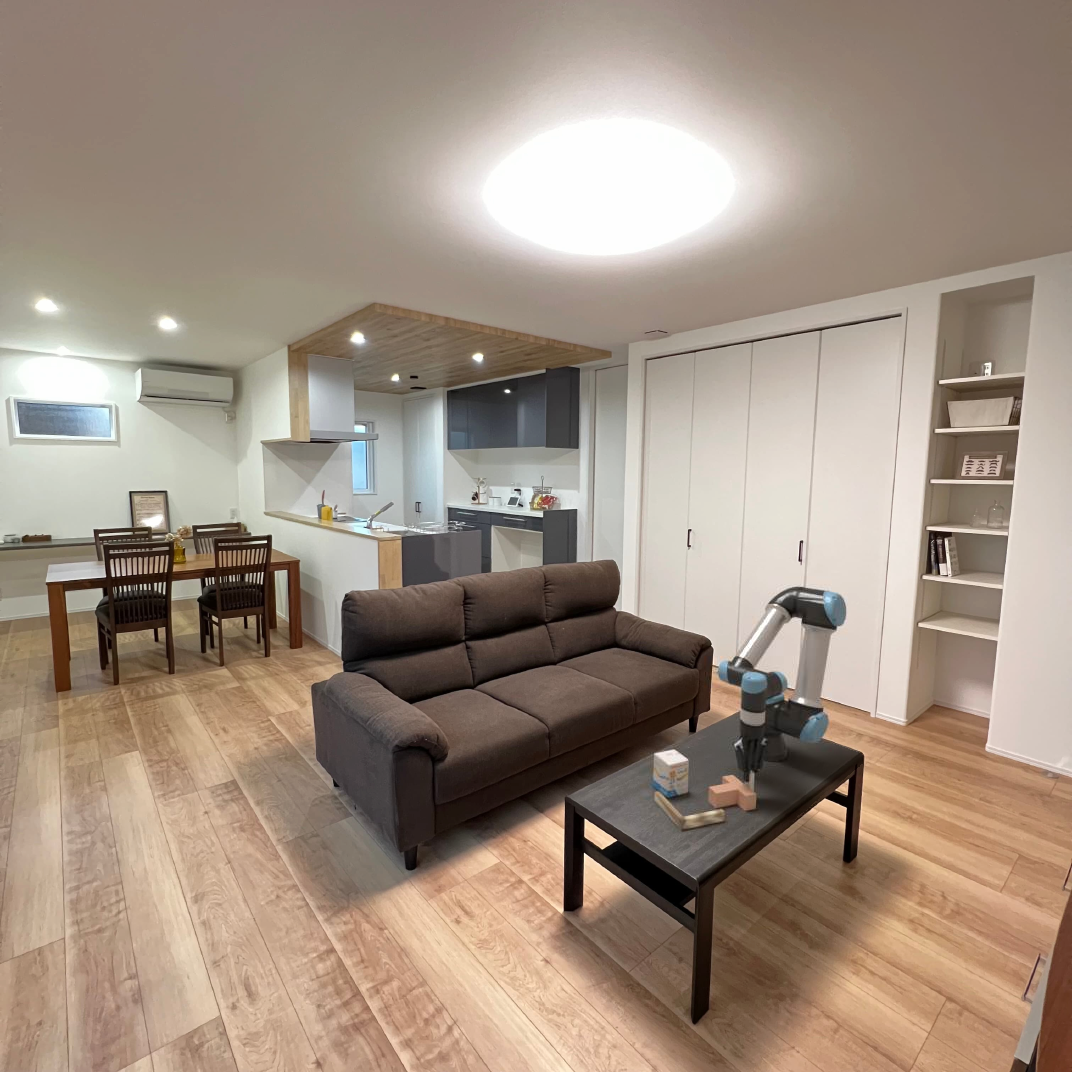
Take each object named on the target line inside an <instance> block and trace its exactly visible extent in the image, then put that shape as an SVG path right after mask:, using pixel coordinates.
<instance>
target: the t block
mask: <svg viewBox="0 0 1072 1072" xmlns="http://www.w3.org/2000/svg"><path fill="white" fill-rule="evenodd" d="M721 783H722V784H717V785H713V786H708V800H707V801H708V804H711V806H713V807H714V809H721V808H724V807H729V806H733V805H737V806H739V807H740V808H741V809H742V810H743V811H745V812H747V811H750V810H756V809H757V808H756V807H757V793H756V792H755V791H754V792H753V791H752V790H751V789H750V788H748V787H747V786H746V785H745V782H744V783H743V782H742V781H741V780H740V779H739V778H737V777H736V776H735V775H733V774H730V775H724V776H722V781H721Z"/></svg>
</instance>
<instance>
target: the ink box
mask: <svg viewBox="0 0 1072 1072" xmlns="http://www.w3.org/2000/svg"><path fill="white" fill-rule="evenodd" d="M689 763H690V761H689V758H687V757H686V756H684V755H683V754H681V753H680V752H679V751H677V750H676V749H669V750H664V751H659V752H654V753H653V776H652V778H653V779H652V787H654V789H657V791H659V792H660V793H661V794H662V795H663V796H664V797H665V798H666V799H669V798H673V797H676V796H680V795H683V794H687V793H688V791H689V765H690V764H689Z"/></svg>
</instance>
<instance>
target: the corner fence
mask: <svg viewBox="0 0 1072 1072" xmlns="http://www.w3.org/2000/svg"><path fill="white" fill-rule="evenodd" d="M654 802H655V803H656V805H658V806H659V807H660V808H661V810H662V811H663V812H664V813H665V814H666V815H667V816H668V817H669V819H670V820H671V821H672V822H673V823H674V824H675V825H676V826H677V827H678V828H679V830H681V831H683V830H688V829H692V828H698V827H701V826H706V825H707V826H708V825H711V824H716V823H720V822H725V814H726V813H725V811H724V810H723V808H718V809H716V810H715V809H714V810H709V811H705V812H700V813H696V814H690V815H685V816H683V815H682V814H681V813H680V812H679V810H678V809H676V807H674V806H673V804H672V803H671V802H670V801H669V800H668V798H667V797H666V796H665V795H663V794H662V793H661V792H660V791H659V790H657V791H654Z"/></svg>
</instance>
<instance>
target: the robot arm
mask: <svg viewBox="0 0 1072 1072" xmlns="http://www.w3.org/2000/svg"><path fill="white" fill-rule="evenodd" d="M764 610H765V612H764V614H763V615H762V617H761V618H760V619H759V621H758V623H757V624H756V626H755V627H754V628H753V629H752V631H751V632H750V634H749V635H748V637H747V639H746V640H745V641H744V643H743V644H742V646H740V649H739V650H738V651H737V653H736V654H735V656H734V657H733V658H732V660H731V661H730V660H723V661H721V663H720V664H719V666H718V668H717V676H718V678H719V679H720V681H722V682H724V683H726V684H729V685H732V686H734V687H735V686H736V687H738V688H741V689H740V692H741V693H740V710H739V711H740V712H739V713H740V715H739V717H740V720H739V732H740V736H739V739H738V740H737V742H733V743H732V747H733V748H734V751H735V757H736V763H737V768H738V770H740V771H741V772H743V776H742V777H743V779H742V780H743V782H744V784H745V785H746V786H747V787H748V788H750V789H751V790H752V791H753V792H755V781H756V778H757V774H759V771H760V770H762V769H763V765H764V762H765V761H767V762H779V761H782V760H785V759H786V758H787V755H788V754H787V753H788V751H787V750H788V749H787V747H786V742H785V739H784V734H785V735H787V736H790V737H792V738H794V739H795V738H796V739H798V740H800V741H801V742H806V743H809V744H816V743H818V742H820V740H822V739H823V737H824V736H825V734H826V732H827V729H828V726H829V723H830V722H829V715H828V714H827V713H826V712H824V709H825V708H824V707H825V706H824V704H823V703H822V701H821V696H822V693H823V692H822V691H823V685H824V680H825V679H824V678H825V672H826V667H827V666H826V665H827V660H828V655H829V649H830V642H831V637H832V635H833V634H835V633H836V632H837V630H838V627H842V626H843V625H844V624H845V621H846V619H847V605H846V601H845V598H844V597H843V596H842V594H839V593H838V592H834V591H829V590H823V589H816V588H810V587H806V586H805V587H804V586H792V587H788V588H786V589H784V590H782V591H781V592H779V593H777V594H776V595H775V596H773V597H772V599H771V600H769V602H768V603H767V604H766V605H765V608H764ZM794 618H795V619H796V618H798V619H801V626H802V627H803V629H804V633H803V639H802V645H801V651H800V656H799V661H798V668H797V676H796V680H795V686H794V694H792V695H791V696H789V697H788V700H786V699H785V698H786V697H785V695H784V693H785V691H787V690H788V685H789V684H788V680H787V678H786V676H785V675H784V674H783V673H782V672H780V671H777V670H773V671H769V672H767V671H763V670H760V669H756V667H757V665H758V664H759V662H761V660H762V658H763V656H764V655H765V654H766V652H767V650H768V649H769V647H770V646H771V645H772V644H773V641H774V640H775V638H776V637H777V636H778V634H779V633H780V631H781V629H782V628H783V626H785V624H788V623H790V621H791V620H792V619H794Z"/></svg>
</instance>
